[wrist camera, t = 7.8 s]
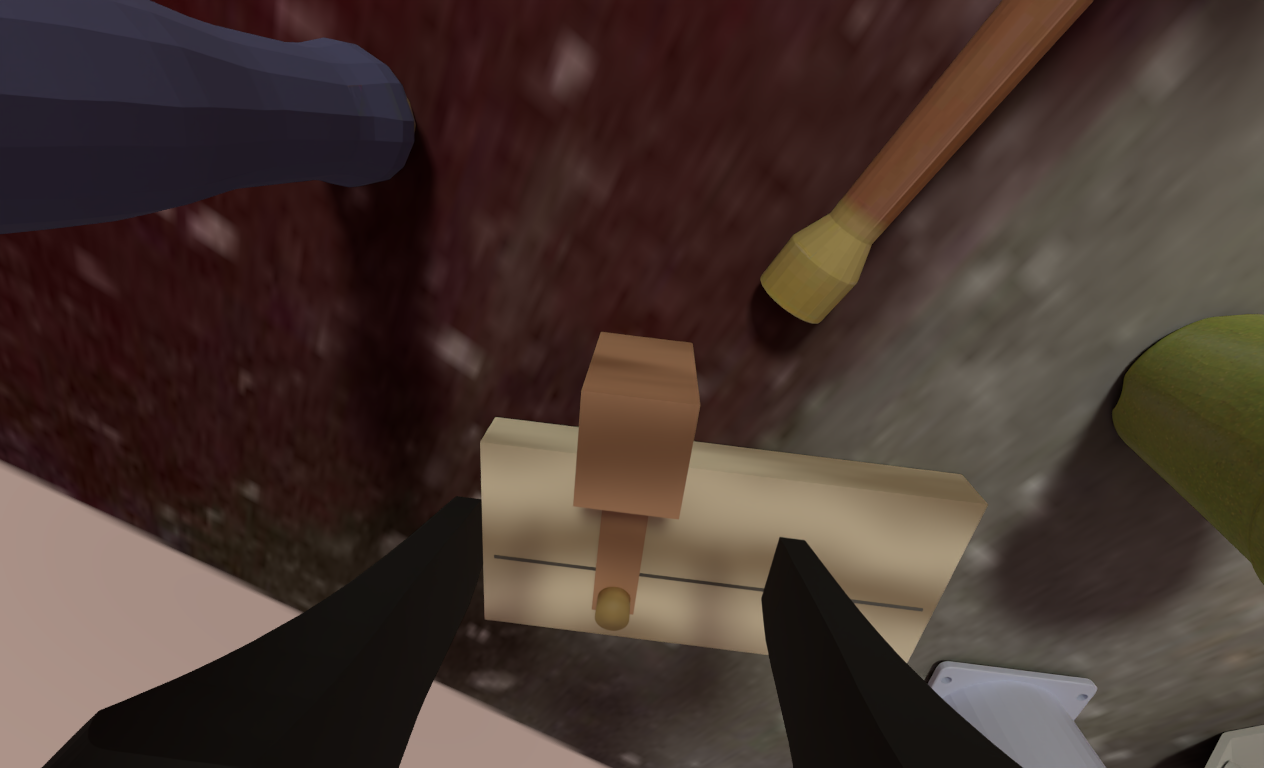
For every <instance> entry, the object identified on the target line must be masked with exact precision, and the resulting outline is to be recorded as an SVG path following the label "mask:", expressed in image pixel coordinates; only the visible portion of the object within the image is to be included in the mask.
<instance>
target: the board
mask: <svg viewBox="0 0 1264 768" xmlns="http://www.w3.org/2000/svg"><path fill="white" fill-rule="evenodd" d="M578 431H579V427H572V426H564V425H556V424H548V423H539V422H531V421H523V420H515V419H507V418H499V417H495V419H494V420H493V422H492V423H491V425H490V427H489V428H488V430H487V432H486V433H485V435H484V437H483V438H482V440H481V442H480V450H481V490H482V531H483V572H484V612H485V619H486V620H494V621H502V622H510V623H518V624H526V625H533V626H541V627H549V628H557V629H565V630H573V631H581V632H589V633H597V634H605V635H613V636H621V637H629V638H637V639H645V640H653V641H661V642H669V643H677V644H685V645H693V646H701V647H709V648H717V649H725V650H732V651H740V652H748V653H756V654H764V655H769V654H768V650H767V645H766V640H765V631H764V623H763V613H762V602H761V597H762V594H763V591H764V587H765V584H766V581H767V577H768V574H769V571H770V567H771V564H772V561H773V557H774V554H775V551H776V547H777V544H778V540H779V537H784V538H792V539H800V540H805V541H806V542H807V543H808V545H809V546H810V547H811V548H812V550H813V551H814V552H815V554H816V555H817V556H818V558H819V559H820V560H821V562H822V563H823V564H824V566H825V567H826V568H827V570H828V571H829V572H830V574H831V575H832V576H833V577H834V579H835V580H836V581H837V583H838V584H839V585H840V586H841V588H842V589H843V590H844V592H845V593H846V594H847V595H848V597H849V598H850V599H851V600H852V602H853V603H854V604H855V605H856V607H857V608H858V609H859V610H860V611H861V613H862V614H863V615H864V616H865V617H866V619H867V620H868V621H869V622H870V623H871V624H872V626H873V627H874V628H875V629H876V630H877V631H878V633H879V634H880V635H881V636H882V637H883V638H884V639H885V640H886V641H887V643H888V644H889V645H890V646H891V647H892V648H893V649H894V650H895V651H896V653H897V654H898V655H899V656H900V657H901V658H902V659H903V660H904V661H905V662H906V663H907V662H908V660H909V659H910V657H911V655H912V653H913V651H914V649H915V647H916V645H917V643H918V641H919V639H920V637H921V635H922V633H923V631H924V629H925V627H926V625H927V623H928V621H929V619H930V617H931V615H932V613H933V611H934V610H935V608H936V606H937V604H938V602H939V600H940V598H941V596H942V594H943V592H944V590H945V588H946V586H947V584H948V582H949V580H950V578H951V576H952V574H953V572H954V570H955V568H956V566H957V564H958V562H959V561H960V559H961V557H962V555H963V553H964V551H965V549H966V547H967V545H968V543H969V541H970V539H971V537H972V535H973V533H974V531H975V529H976V527H977V525H978V523H979V521H980V519H981V517H982V515H983V513H984V512H985V510H986V508H987V506H988V504H987V503H986V502H985V500H984V499H983V498H982V497H981V496H980V495H979V494H978V492H977V491H976V490H975V489H974V488H973V487H972V486H971V484H970V483H969V482H968V481H967V480H966V479H965V478H964V476H963V475H962V474H954V473H946V472H938V471H930V470H922V469H914V468H906V467H897V466H889V465H881V464H873V463H865V462H857V461H849V460H841V459H832V458H824V457H816V456H808V455H800V454H792V453H784V452H775V451H767V450H759V449H751V448H743V447H735V446H727V445H718V444H710V443H702V442H694V441H693V447H692V452H691V458H690V463H689V468H688V474H687V479H686V484H685V490H684V495H683V500H682V506H681V511H680V516H679V520H678V519H670V518H662V517H654V516H648V522H647V529H646V535H645V542H644V548H643V555H642V561H641V568H640V574H639V581H638V587H637V594H636V600H635V607H634V613H633V615H631V614H630V615H629V623H628V625H627V626H626V627H625V628H623V629H621V630H617V631H610V630H606V629H603V628H601V627H600V626H599V625H598V624H597V623H596V621H595V612H596V610H592V601H593V591H594V582H595V572H596V563H597V553H598V543H599V534H600V524H601V514H602V510H598V509H590V508H582V507H574V506H573V500H574V486H575V473H576V459H577V445H578Z"/></svg>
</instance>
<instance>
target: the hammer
mask: <svg viewBox="0 0 1264 768" xmlns="http://www.w3.org/2000/svg"><path fill="white" fill-rule="evenodd" d="M1093 1H1094V0H1002V1H1001V3H1000V4H999V5H998V6H997V8H996V9H995V10H994V11H993V12H992V14H991V15H990V16H989V17H988V19H987V20H986V21H985V22H984V24H983V25H982V26H981V27H980V29H979V30H978V31H977V32H976V33H975V35H974V36H973V37H972V38H971V40H970V41H969V42H968V43H967V45H966V46H965V47H964V48H963V50H962V51H961V52H960V53H959V54H958V56H957V57H956V58H955V59H954V61H953V62H952V63H951V64H950V66H949V67H948V68H947V69H946V71H945V72H944V73H943V74H942V76H941V77H940V78H939V79H938V80H937V82H936V83H935V84H934V85H933V87H932V88H931V89H930V90H929V92H928V93H927V94H926V95H925V97H924V98H923V99H922V100H921V101H920V103H919V104H918V105H917V106H916V108H915V109H914V110H913V111H912V113H911V114H910V115H909V116H908V118H907V119H906V120H905V121H904V123H903V124H902V125H901V126H900V127H899V129H898V130H897V131H896V132H895V134H894V135H893V136H892V137H891V139H890V140H889V141H888V142H887V144H886V145H885V146H884V147H883V148H882V150H881V151H880V152H879V153H878V155H877V156H876V157H875V158H874V160H873V161H872V162H871V163H870V165H869V166H868V167H867V168H866V169H865V171H864V172H863V173H862V174H861V176H860V177H859V178H858V179H857V181H856V182H855V183H854V184H853V186H852V187H851V188H850V189H849V191H848V192H847V193H846V194H845V195H844V197H843V198H842V199H841V200H840V202H839V203H838V204H837V205H836V207H835V208H834V209H833V210H832V212H831V213H830V214H828V215H826V216H825V217H823V218H821V219H820V220H818V221H816V222H815V223H813V224H811V225H810V226H808V227H806V228H804V229H803V230H801V231H799V232H798V233H796V234H794V235H793V236H792V237H791V239H790V240H789V241H788V243H787V244H786V245H785V246H784V248H783V249H782V250H781V251H780V253H779V254H778V255H777V257H776V258H775V259H774V260H773V262H772V263H771V264H770V265H769V267H768V268H767V269H766V271H765V272H764V273H763V274H762V276H761V279H760V280H761V283H762V286H763V287H764V289H765V290H766V292H767V293H768V294H769V295H770V296H771V298H772V299H773V300H774V301H775V302H777V303H778V304H779V305H780V306H781V307H782V308H784V309H785V310H786V311H788V312H789V313H791V314H792V315H794V316H795V317H797V318H799V319H801V320H803V321H806V322H809V323H812V324H818V323H820V322H821V321H822V320H823V319H824V318H825V317H826V316H827V315H828V313H829V312H830V311H831V310H832V309H833V308H834V307H835V306H836V305H837V304H838V303H839V302H840V301H841V300H842V298H843V297H844V296H845V295H846V294H847V293H848V292H849V291H850V290H851V289H852V288H853V287H854V286H855V285H856V284H857V282H858V279H859V277H860V274H861V272H862V269H863V266H864V264H865V261H866V258H867V256H868V253H869V251H870V248H871V245H872V244H873V243H874V241H875V240H876V239H877V238H878V237H879V236H880V235H881V234H882V233H883V232H884V230H885V229H886V228H887V227H888V226H889V225H890V224H891V223H892V222H893V221H894V219H895V218H896V217H897V216H898V215H899V214H900V213H901V212H902V211H903V210H904V208H905V207H906V206H907V205H908V204H909V203H910V202H911V201H912V200H913V199H914V198H915V196H916V195H917V194H918V193H919V192H920V191H921V190H922V189H923V188H924V187H925V185H926V184H927V183H928V182H929V181H930V180H931V179H932V178H933V177H934V176H935V174H936V173H937V172H938V171H939V170H940V169H941V168H942V167H943V166H944V165H945V163H946V162H947V161H948V160H949V159H950V158H951V157H952V156H953V155H954V154H955V152H956V151H957V150H958V149H959V148H960V147H961V146H962V145H963V144H964V143H965V141H966V140H967V139H968V138H969V137H970V136H971V135H972V134H973V133H974V132H975V131H976V129H977V128H978V127H979V126H980V125H981V124H982V123H983V122H984V121H985V120H986V118H987V117H988V116H989V115H990V114H991V113H992V112H993V111H994V110H995V109H996V107H997V106H998V105H999V104H1000V103H1001V102H1002V101H1003V100H1004V99H1005V98H1006V96H1007V95H1008V94H1009V93H1010V92H1011V91H1012V90H1013V89H1014V88H1015V87H1016V85H1017V84H1018V83H1019V82H1020V81H1021V80H1022V79H1023V78H1024V77H1025V76H1026V75H1027V73H1028V72H1029V71H1030V70H1031V69H1032V68H1033V67H1034V66H1035V65H1036V64H1037V62H1038V61H1039V60H1040V59H1041V58H1042V57H1043V56H1044V55H1045V54H1046V53H1047V51H1048V50H1049V49H1050V48H1051V47H1052V46H1053V45H1054V44H1055V43H1056V42H1057V40H1058V39H1059V38H1060V37H1061V36H1062V35H1063V34H1064V33H1065V32H1066V31H1067V29H1068V28H1069V27H1070V26H1071V25H1072V24H1073V23H1074V22H1075V21H1076V20H1077V18H1078V17H1079V16H1080V15H1081V14H1082V13H1083V12H1084V11H1085V10H1086V9H1087V8H1088V6H1089V5H1090V4H1091V3H1092V2H1093Z"/></svg>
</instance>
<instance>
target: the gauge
mask: <svg viewBox="0 0 1264 768" xmlns="http://www.w3.org/2000/svg"><path fill="white" fill-rule="evenodd" d="M699 409H700V399H699V391H698V383H697V375H696V367H695V359H694V351H693V343H687V342H679V341H671V340H663V339H655V338H647V337H638V336H630V335H622V334H614V333H606V332H601V333H600V336H599V339H598V342H597V345H596V348H595V351H594V354H593V357H592V360H591V363H590V366H589V369H588V372H587V375H586V379H585V382H584V385H583V388H582V391H581V404H580V418H579V431H578V445H577V459H576V473H575V486H574V500H573V506H574V507H582V508H590V509H598V510H602V514H601V524H600V534H599V543H598V553H597V563H596V572H595V582H594V591H593V601H592V610H596V612H595V621H596V623H597V624H598V625H599V626H600V627H601V628H603V629H606V630H610V631H617V630H621V629H623V628H625V627H626V626H627V625H628V623H629V615H630V614H631V615H633V613H634V607H635V600H636V594H637V587H638V581H639V574H640V568H641V561H642V555H643V548H644V542H645V535H646V529H647V522H648V516H654V517H662V518H670V519H678V520H679V516H680V511H681V506H682V500H683V495H684V490H685V484H686V479H687V474H688V468H689V463H690V458H691V452H692V447H693V441H694V436H695V431H696V425H697V420H698V415H699Z"/></svg>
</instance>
